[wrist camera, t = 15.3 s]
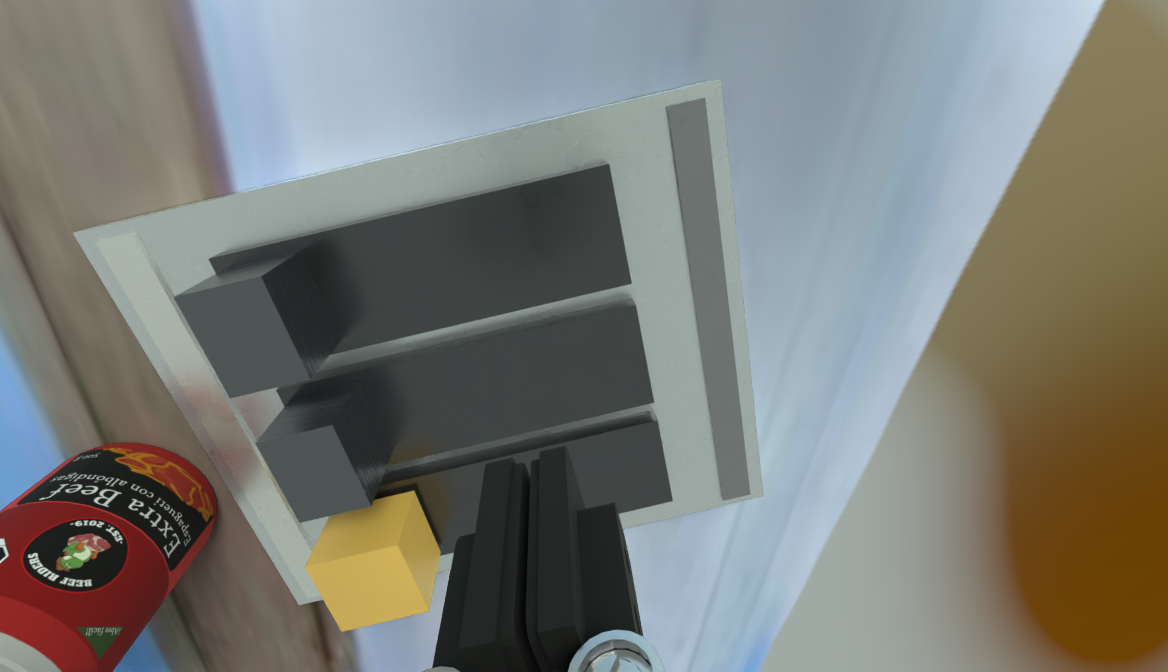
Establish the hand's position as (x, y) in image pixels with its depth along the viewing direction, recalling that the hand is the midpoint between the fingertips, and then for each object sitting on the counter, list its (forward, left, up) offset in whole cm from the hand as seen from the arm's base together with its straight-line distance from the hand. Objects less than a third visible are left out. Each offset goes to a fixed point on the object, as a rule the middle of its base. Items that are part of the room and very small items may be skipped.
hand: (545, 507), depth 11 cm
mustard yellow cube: (+10, +10, -13) cm, 19 cm away
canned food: (+23, +7, -16) cm, 29 cm away
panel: (+4, +4, -16) cm, 17 cm away
